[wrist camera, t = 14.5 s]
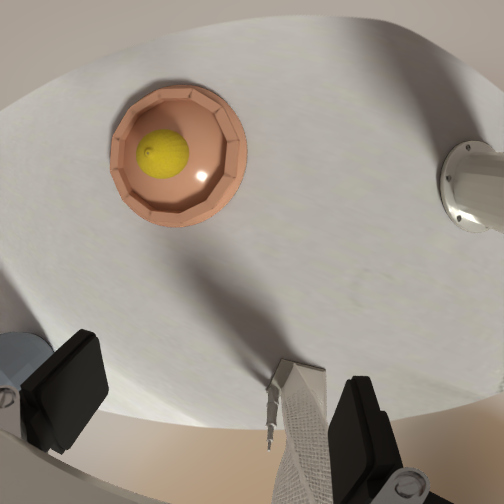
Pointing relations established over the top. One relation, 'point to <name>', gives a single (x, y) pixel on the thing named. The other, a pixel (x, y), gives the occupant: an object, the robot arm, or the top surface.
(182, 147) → the lemon
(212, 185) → the dish
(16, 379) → the vase
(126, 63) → the top surface
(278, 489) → the skyscraper
